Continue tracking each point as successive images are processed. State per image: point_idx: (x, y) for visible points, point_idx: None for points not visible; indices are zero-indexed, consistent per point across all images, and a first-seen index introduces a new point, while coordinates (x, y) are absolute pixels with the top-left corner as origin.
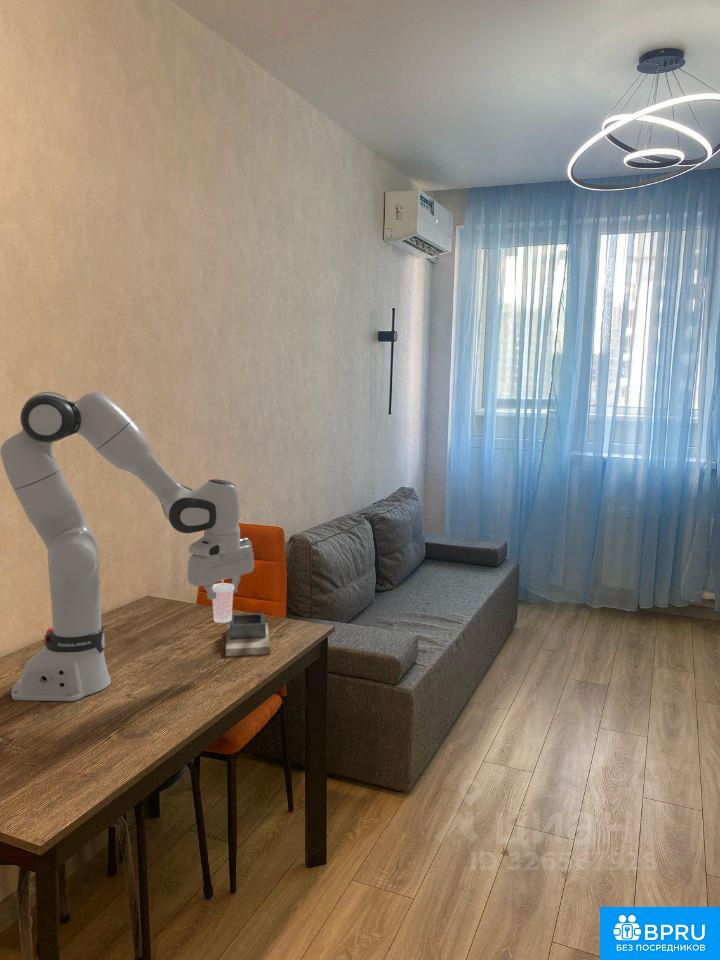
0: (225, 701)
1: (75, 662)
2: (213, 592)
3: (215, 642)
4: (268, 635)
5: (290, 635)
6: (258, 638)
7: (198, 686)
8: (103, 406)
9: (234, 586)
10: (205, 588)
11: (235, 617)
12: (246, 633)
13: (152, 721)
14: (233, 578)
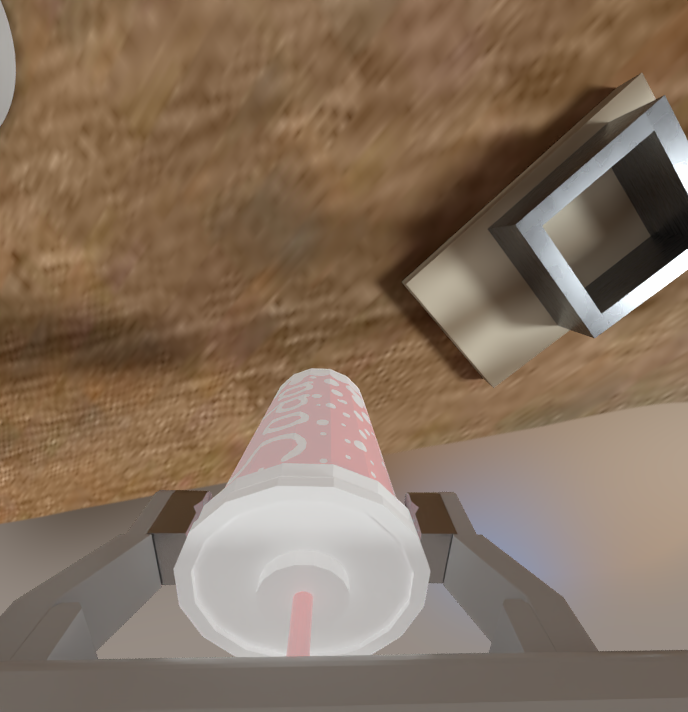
0: (186, 479)
1: None
2: (152, 590)
3: (488, 147)
4: None
5: (650, 330)
6: (542, 308)
7: (195, 374)
8: None
9: (387, 635)
10: (58, 585)
11: (649, 139)
12: (533, 277)
13: (3, 426)
14: (497, 632)
